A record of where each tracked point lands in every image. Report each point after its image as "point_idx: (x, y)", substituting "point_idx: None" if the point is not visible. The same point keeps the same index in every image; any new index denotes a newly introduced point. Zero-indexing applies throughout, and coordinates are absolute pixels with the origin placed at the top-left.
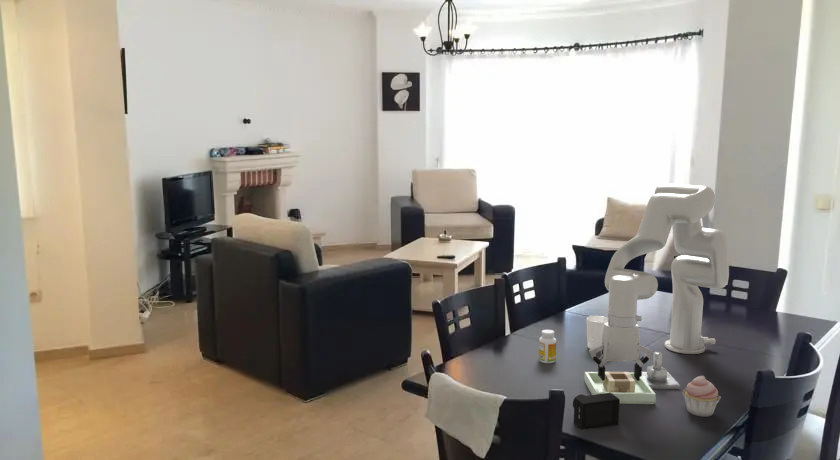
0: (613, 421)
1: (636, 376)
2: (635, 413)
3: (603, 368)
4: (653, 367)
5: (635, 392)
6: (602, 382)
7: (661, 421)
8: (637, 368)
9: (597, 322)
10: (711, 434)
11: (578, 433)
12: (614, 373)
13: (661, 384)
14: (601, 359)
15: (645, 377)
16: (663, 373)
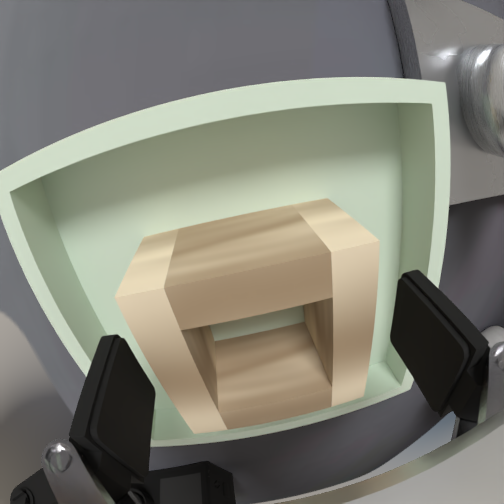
0: (219, 485)
1: (402, 344)
2: (292, 432)
3: (135, 475)
4: None
5: None
6: (137, 187)
7: (353, 437)
8: (432, 408)
9: None
10: (424, 430)
11: None
12: (229, 320)
13: (493, 190)
14: (82, 496)
15: (454, 82)
16: None
